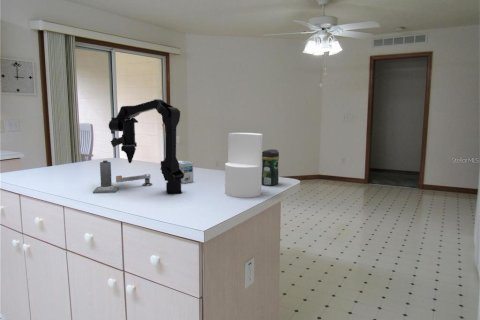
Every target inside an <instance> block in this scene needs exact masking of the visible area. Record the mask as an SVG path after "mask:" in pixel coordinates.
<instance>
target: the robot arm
mask: <svg viewBox="0 0 480 320" xmlns="http://www.w3.org/2000/svg"><path fill="white" fill-rule="evenodd" d="M153 110H156V112H157V113H158V114H159V115H161V117H162V118H161V119H162V122H163V125H164V127H165V143H164V144H165V149H164V150H165V157H164V159H163V160H161V161H160V169H159V170H160V171H161V174H162V175H163V179H164V181H166V183H165V188H166V189H165V191H166V194H167V195H172V194H173V195H175V194H176V195H177V194H182V193H183V192H182V183H181V179H182V178H183V177H184V173H183V172H182V171H181V170H180V169H179V162H178V161H179V160H178V158H177V127H178V124H179V122H180V119H181V111H180V110H179V109H178V107H174V106H173V105H171V104H169V103H168V102H166V101H164V100H163V99H159V98H158V99H157V98H155V99H153V100H150V101H146V102H142V103H140V104H136V105H135V104H134V105H122V106H120V109H119V112H118V113H117V115H116V117H111V118H110V119H111V120H109V122H108V129H109V130H110V131H111V132H122V134H121V136H120V137H118V138H117V137H114V138H112V140H110V145H112V147H113V148H116V146H119V145H121V146H120V150H121V152H124V153H125V155H126V158H127V161H128V163H129V164H132V162H133V159H134V156H135V153H136V150H137V144H138V143H137V142H136V126H135V124H136V123H137V124H138V123H139V121H138V120H137V119H136V117H137V116H139V115H140V114H142V113H145V112H150V111H153Z"/></svg>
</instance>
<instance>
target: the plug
mask: <svg viewBox="0 0 480 320" xmlns="http://www.w3.org/2000/svg"><path fill="white" fill-rule="evenodd" d="M111 165H112V162H111V161H108V160H103V161H101V162H99V176H100V177H99V178H100V185H99V187H100V189H101V190H108V189H112V188H113V186H114V185H113V183H112V166H111Z"/></svg>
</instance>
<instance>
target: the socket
mask: <svg viewBox="0 0 480 320" xmlns="http://www.w3.org/2000/svg"><path fill="white" fill-rule="evenodd" d="M119 187H120V186H118V185H115V186H114V185H113V188H112V189H108V190H101V189H100V186H96V187H95V188H94V190H93V191H92V194H109V193H110V194H111V193H113V194H114V193H117V191H118V189H119Z"/></svg>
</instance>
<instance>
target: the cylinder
mask: <svg viewBox="0 0 480 320" xmlns="http://www.w3.org/2000/svg"><path fill="white" fill-rule="evenodd" d="M227 136H228V137H227V139H228V140H227V145H228V146H227V162H225V163H224V194H225V195H226V196H229V197H233V198H254V197H258V196H261V195H262V152H263V137H264V136H263V133H257V132H256V133H255V132H229V133H227Z"/></svg>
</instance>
